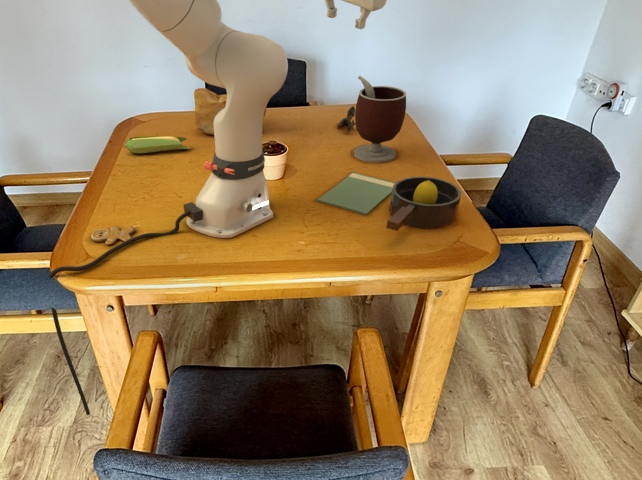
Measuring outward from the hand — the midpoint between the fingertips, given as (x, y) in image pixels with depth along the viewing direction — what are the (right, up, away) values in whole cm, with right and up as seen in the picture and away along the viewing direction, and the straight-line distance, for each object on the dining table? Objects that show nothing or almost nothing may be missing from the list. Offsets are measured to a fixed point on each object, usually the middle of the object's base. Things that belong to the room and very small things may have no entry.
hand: (345, 22), depth 123 cm
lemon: (+20, -42, +7) cm, 47 cm away
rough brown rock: (-29, -1, +54) cm, 62 cm away
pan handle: (+12, -47, -4) cm, 48 cm away
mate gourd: (+14, -17, +36) cm, 42 cm away
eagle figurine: (+9, -3, +51) cm, 52 cm away
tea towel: (+6, -35, +16) cm, 39 cm away
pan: (+20, -42, +7) cm, 47 cm away
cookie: (-55, -49, +2) cm, 74 cm away
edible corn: (-51, -14, +41) cm, 67 cm away
